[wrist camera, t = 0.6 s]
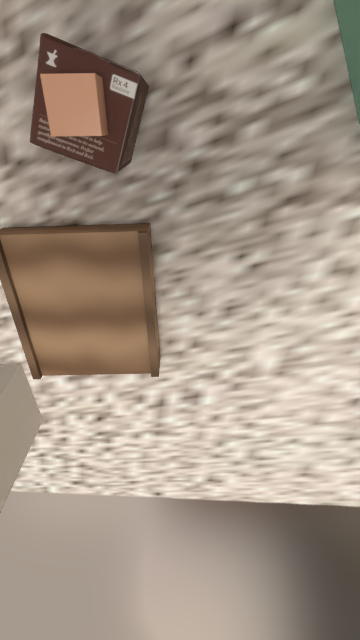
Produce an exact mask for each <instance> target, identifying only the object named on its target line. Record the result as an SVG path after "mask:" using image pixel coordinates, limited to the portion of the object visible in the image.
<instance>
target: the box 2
mask: <svg viewBox="0 0 360 640" xmlns="http://www.w3.org/2000/svg"><path fill="white" fill-rule="evenodd" d="M334 5H335V9H336V14H337V19H338V24H339V29H340V33H341V38H342V43H343V48H344V52H345V57H346V62H347V67H348V72H349V76H350V81H351V86H352V91H353V96H354V100H355V105H356V110H357V115H358V119H359V124H360V0H334Z"/></svg>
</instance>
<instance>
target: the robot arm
mask: <svg viewBox="0 0 360 640" xmlns="http://www.w3.org/2000/svg"><path fill="white" fill-rule="evenodd" d="M42 421H43V418H42V416H41V413H40V411H39V408H38V406H37V403H36V401H35V398H34V396H33V393H32V390H31V388H30V385H29V383H28V380H27V378H26V375H25V373H24V370H23V367H22V365H21V363H15V364H0V512H1V510H2V508H3V506H4V504H5V502H6V499H7V497H8V495H9V493H10V491H11V488H12V486H13V484H14V482H15V480H16V478H17V475H18V473H19V471H20V469H21V467H22V464H23V462H24V460H25V458H26V456H27V453H28V451H29V449H30V447H31V445H32V443H33V440H34V438H35V436H36V434H37V432H38V429H39V427H40V425H41V423H42Z"/></svg>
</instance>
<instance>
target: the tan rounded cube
mask: <svg viewBox="0 0 360 640" xmlns="http://www.w3.org/2000/svg"><path fill="white" fill-rule="evenodd" d="M40 77H41V82H42V88H43V94H44V99H45V105H46V110H47V116H48V122H49V127H50V133H51V136H105V135H108V128H107V118H106V108H105V98H104V88H103V79H102V77H100V76H99V75H97V74H95V73H64V74H40Z"/></svg>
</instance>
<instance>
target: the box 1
mask: <svg viewBox="0 0 360 640" xmlns="http://www.w3.org/2000/svg"><path fill="white" fill-rule="evenodd" d="M64 73H95V74H97V75H99V76H100V77H102V79H103V88H104V98H105V108H106V118H107V128H108V135H105V136H51V133H50V127H49V122H48V116H47V110H46V105H45V99H44V94H43V88H42V82H41V77H40V74H64ZM147 91H148V84H147V83H146V82H145V80H144V79H143V78H142V76H141V74H140V73H138V72H136V71H133V70H131V69H129V68H127V67H125V66H122V65H119V64H117V63H115V62H112V61H110V60H108V59H105V58H103V57H100V56H98V55H96V54H94V53H92V52H90V51H87V50H84V49H81V48H79V47H77V46H75V45H72V44H70V43H67V42H65V41H63V40H60V39H58V38H56V37H53V36H51V35H48V34H46V33H42V34H41V37H40V48H39V58H38V69H37V79H36V87H35V97H34V106H33V115H32V125H31V135H30V142H31V143H33V144H35V145H37V146H40V147H43V148H45V149H48V150H51V151H53V152H56V153H59V154H61V155H64V156H67V157H70V158H73V159H75V160H78V161H81V162H84V163H86V164H89V165H92V166H95V167H98V168H100V169H103V170H106V171H109V172H112V173H117V172H118V171H120V170H121V169H122V168H124V167H125V166H127V165H128V164H129V163H130V162H131V159H132V154H133V151H134V146H135V142H136V137H137V133H138V129H139V125H140V121H141V116H142V112H143V108H144V103H145V100H146V95H147Z"/></svg>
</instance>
